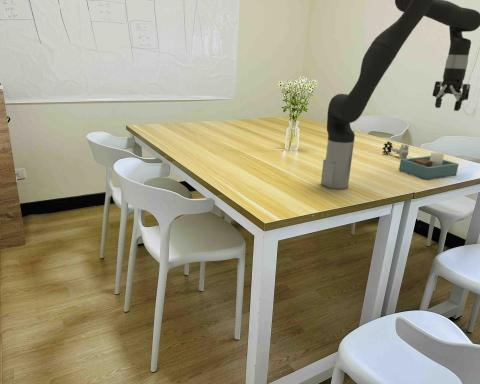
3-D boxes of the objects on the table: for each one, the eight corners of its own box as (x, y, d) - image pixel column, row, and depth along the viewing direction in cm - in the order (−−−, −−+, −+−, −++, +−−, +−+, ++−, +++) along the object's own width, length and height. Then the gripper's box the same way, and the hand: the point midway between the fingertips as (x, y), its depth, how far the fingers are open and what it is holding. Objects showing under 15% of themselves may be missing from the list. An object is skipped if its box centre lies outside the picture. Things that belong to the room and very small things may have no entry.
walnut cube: (421, 174, 159) (424, 162, 158) (412, 171, 163) (414, 159, 162) (430, 173, 161) (432, 161, 160) (420, 170, 166) (422, 158, 164)
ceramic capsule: (435, 172, 162) (438, 156, 160) (425, 169, 167) (428, 153, 164) (443, 171, 165) (446, 155, 162) (433, 168, 169) (436, 152, 167)
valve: (410, 159, 187) (390, 153, 196) (413, 145, 184) (392, 140, 194) (401, 160, 183) (381, 154, 193) (404, 147, 181) (383, 141, 191)
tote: (426, 180, 155) (428, 168, 153) (398, 170, 167) (400, 159, 165) (456, 175, 162) (458, 163, 161) (428, 166, 174) (430, 155, 172)
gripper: (433, 66, 156) (425, 107, 162) (466, 68, 144) (456, 112, 149) (446, 66, 159) (438, 106, 165) (479, 68, 147) (469, 111, 153)
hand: (446, 109), depth 157 cm, fingers open, 8 cm apart
